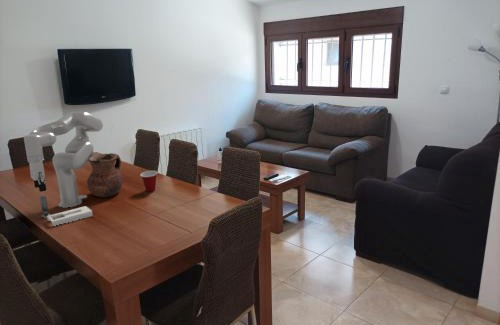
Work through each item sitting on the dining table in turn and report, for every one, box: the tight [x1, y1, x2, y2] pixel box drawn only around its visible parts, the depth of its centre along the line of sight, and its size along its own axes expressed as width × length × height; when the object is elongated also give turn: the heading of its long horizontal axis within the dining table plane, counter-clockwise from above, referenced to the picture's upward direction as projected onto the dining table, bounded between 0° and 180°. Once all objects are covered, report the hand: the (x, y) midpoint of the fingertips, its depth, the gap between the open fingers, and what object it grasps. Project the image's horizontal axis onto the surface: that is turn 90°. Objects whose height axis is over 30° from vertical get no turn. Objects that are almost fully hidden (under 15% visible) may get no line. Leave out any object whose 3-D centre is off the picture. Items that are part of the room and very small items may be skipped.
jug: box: [86, 152, 124, 198], centre depth 235 cm, size 22×21×25 cm
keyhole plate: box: [46, 205, 94, 227], centre depth 200 cm, size 20×10×3 cm, turn 132°
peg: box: [39, 195, 52, 218], centre depth 201 cm, size 4×4×12 cm
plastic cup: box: [140, 170, 158, 193], centre depth 241 cm, size 11×11×12 cm
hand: (40, 189), depth 198 cm, fingers open, 9 cm apart
